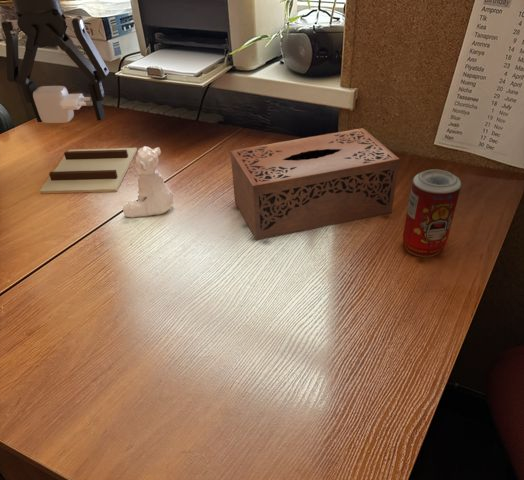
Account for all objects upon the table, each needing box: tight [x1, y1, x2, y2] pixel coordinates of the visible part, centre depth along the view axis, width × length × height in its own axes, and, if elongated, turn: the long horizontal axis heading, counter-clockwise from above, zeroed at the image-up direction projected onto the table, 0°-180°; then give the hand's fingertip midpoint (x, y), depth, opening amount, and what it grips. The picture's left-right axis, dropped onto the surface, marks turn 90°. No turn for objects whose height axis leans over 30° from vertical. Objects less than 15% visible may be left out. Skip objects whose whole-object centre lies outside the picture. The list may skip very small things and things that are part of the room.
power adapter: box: [33, 85, 93, 124], centre depth 97 cm, size 11×5×6 cm, turn 86°
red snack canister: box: [402, 168, 462, 258], centre depth 79 cm, size 7×7×12 cm
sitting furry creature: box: [122, 145, 174, 219], centre depth 92 cm, size 10×9×12 cm
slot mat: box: [39, 147, 138, 195], centre depth 109 cm, size 16×20×2 cm
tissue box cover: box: [230, 127, 400, 241], centre depth 91 cm, size 26×14×10 cm, turn 107°
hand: (71, 118), depth 98 cm, fingers closed on power adapter, 11 cm apart
